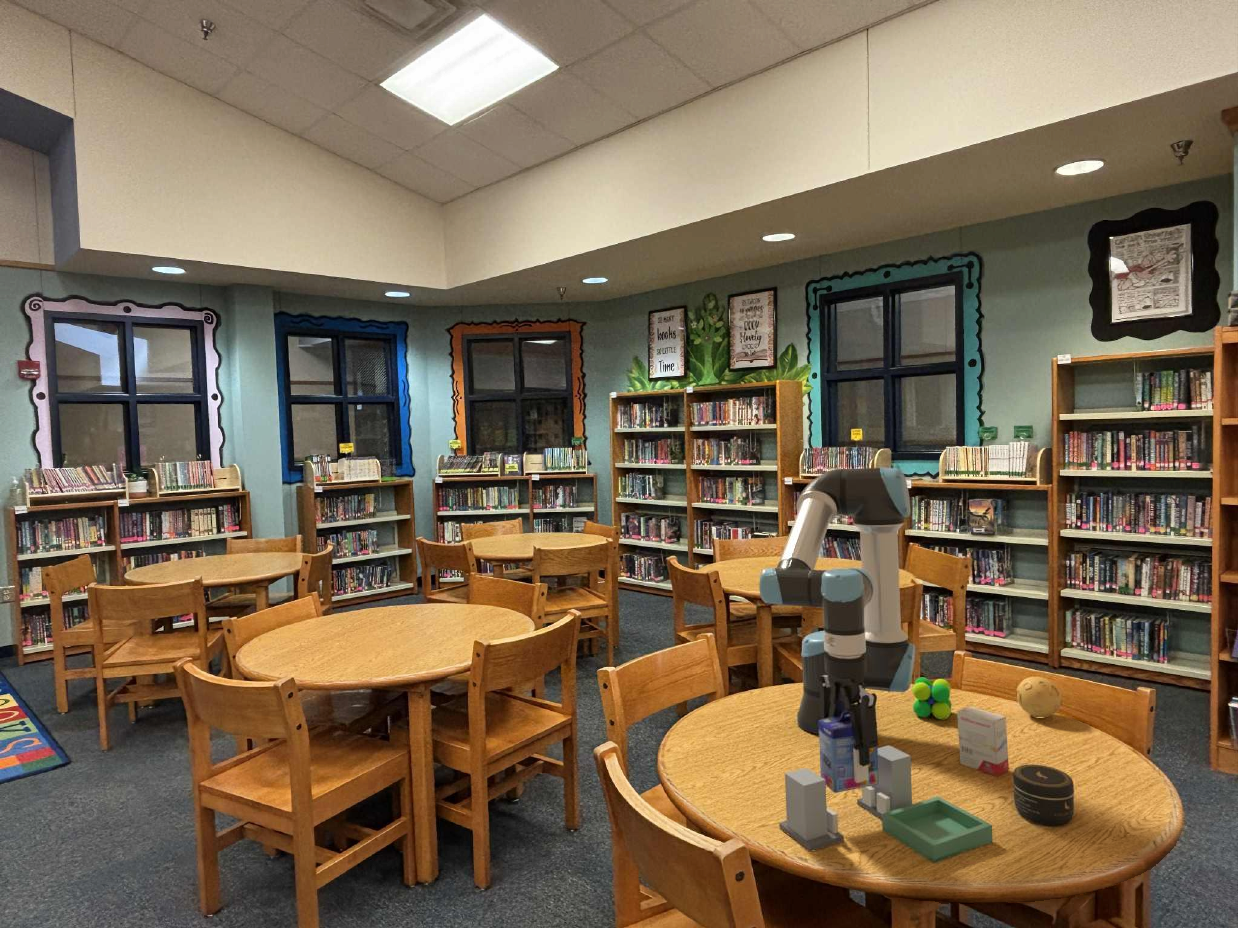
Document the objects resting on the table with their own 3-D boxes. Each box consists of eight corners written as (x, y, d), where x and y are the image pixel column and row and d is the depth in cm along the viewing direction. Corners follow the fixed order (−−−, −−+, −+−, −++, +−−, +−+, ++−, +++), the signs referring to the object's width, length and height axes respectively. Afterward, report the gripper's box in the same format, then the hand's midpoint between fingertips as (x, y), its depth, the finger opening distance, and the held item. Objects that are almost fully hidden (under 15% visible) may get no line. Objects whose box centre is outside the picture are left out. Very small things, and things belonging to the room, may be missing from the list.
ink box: (1010, 770, 156) (1008, 716, 156) (997, 777, 153) (995, 722, 153) (971, 757, 163) (969, 704, 163) (958, 763, 160) (956, 710, 160)
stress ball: (1026, 711, 190) (1000, 690, 188) (1052, 683, 189) (1026, 661, 187) (1051, 732, 180) (1023, 710, 179) (1078, 703, 179) (1051, 680, 178)
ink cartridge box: (835, 794, 134) (831, 716, 134) (819, 782, 140) (815, 706, 140) (881, 784, 137) (877, 708, 137) (864, 773, 142) (859, 699, 142)
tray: (882, 829, 135) (881, 813, 135) (938, 811, 141) (937, 796, 141) (934, 862, 124) (933, 845, 124) (992, 841, 130) (992, 824, 130)
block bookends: (779, 827, 137) (777, 770, 137) (886, 795, 148) (884, 741, 147) (810, 851, 129) (807, 790, 129) (921, 815, 140) (919, 758, 139)
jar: (1050, 834, 131) (1049, 792, 131) (1001, 809, 140) (1000, 770, 140) (1087, 820, 135) (1086, 779, 135) (1037, 797, 144) (1036, 759, 144)
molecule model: (912, 718, 187) (950, 723, 183) (911, 684, 186) (949, 688, 182) (916, 706, 194) (952, 710, 190) (914, 674, 194) (951, 677, 190)
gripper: (797, 643, 145) (802, 758, 146) (864, 670, 127) (869, 799, 128) (827, 637, 148) (832, 750, 149) (897, 662, 130) (902, 789, 131)
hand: (849, 772), depth 138 cm, fingers closed on ink cartridge box, 6 cm apart
